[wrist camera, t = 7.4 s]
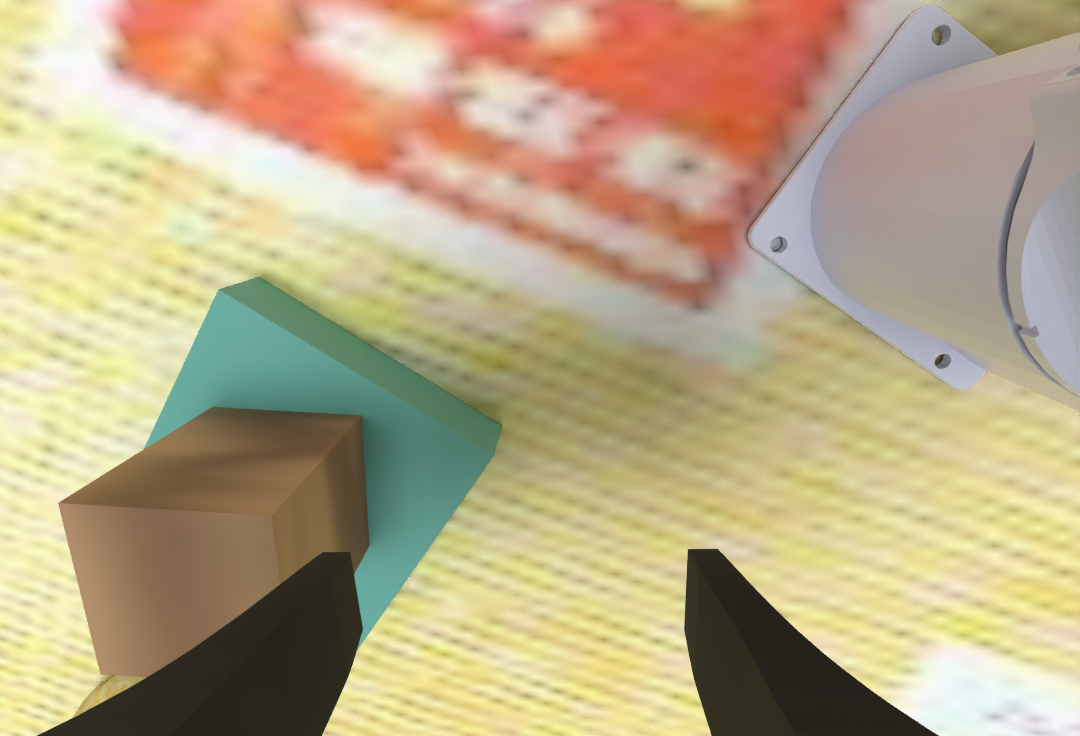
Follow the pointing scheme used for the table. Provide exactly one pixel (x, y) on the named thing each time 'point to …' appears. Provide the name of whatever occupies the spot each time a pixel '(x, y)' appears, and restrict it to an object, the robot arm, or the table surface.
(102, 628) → the walnut block
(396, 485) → the teal base
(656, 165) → the table surface
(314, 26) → the table surface
